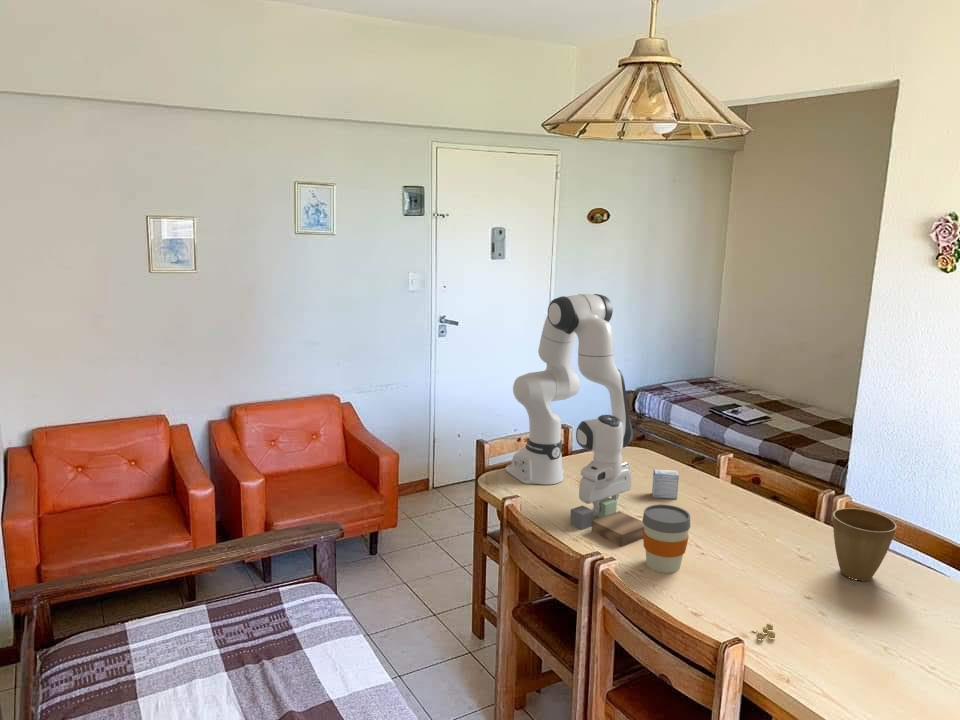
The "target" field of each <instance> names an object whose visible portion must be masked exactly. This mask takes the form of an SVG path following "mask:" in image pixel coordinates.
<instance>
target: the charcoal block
mask: <svg viewBox="0 0 960 720" xmlns="http://www.w3.org/2000/svg"><path fill="white" fill-rule="evenodd" d="M569 519H570V520H569V525H571V526H573V527H575V528H577V529H579V530H581V531H583V530H586V529H589V528H592V520H595V515H594V510H593V509H591V508H589V507H587V506H584V505H580V506H579V505H578V506H576V507H574V508H570V518H569Z"/></svg>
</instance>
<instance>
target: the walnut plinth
mask: <svg viewBox="0 0 960 720" xmlns="http://www.w3.org/2000/svg"><path fill="white" fill-rule="evenodd" d="M643 529H644V524H643V520H640V519H638V518H636V517H633V516H631V515H629V514H627V513H625V512H622V511H620V510H618V511H616V512H615V513H612V514H610V515H607V516H604V517H601V518H600V517H597V518H594V520H592V527H591V531H590V532H591V533H593V534H594V535H596V536H600V537H601V538H603V539H604V540H607V541H610V542H611V543H613V544H615V545H617V546H619V547H621V548H623V547H625V546H628V545H630V544H632V543H635V542H638V541H639V540H643Z"/></svg>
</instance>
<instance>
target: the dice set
mask: <svg viewBox="0 0 960 720" xmlns="http://www.w3.org/2000/svg"><path fill="white" fill-rule="evenodd" d="M773 628H774V624H773V623H772V624H771V623H766V626H763V627H762V630H763V632H764V633H768V634H767V638H768V637H770V638H775V637H776V632H774V631H769V632H768V630H774V629H773ZM757 632H758V633H757ZM757 632H756V639H757V638H758V639H761V640H762V639H764V638H765V635H764V634H763V633H762V631H757ZM764 640H765V639H764Z"/></svg>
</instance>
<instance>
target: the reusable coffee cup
mask: <svg viewBox="0 0 960 720" xmlns="http://www.w3.org/2000/svg"><path fill="white" fill-rule="evenodd" d="M642 521H643V524H644V529H643V539H642V541H643V548H644V549H645V560H646V561H645V563H646V567H648V568H649V569H650V570H652V571H654V572H658V573H661V574H663V573H664V574H671V573H676V572H678V571H679V570H680V569H681V567H682V566H681V565H682V561H683V557H684V554H685V553H686V550H687V545H688V541H689V537H690V536H689V530H690V529H691V515H690V513H689V512H688V511H687V510H686V509H683V508H681V507H678V506H676V505H675V506H674V505H670V504H652V505H648V506H647V507H646V508H645V509H644V510H643V515H642Z"/></svg>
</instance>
